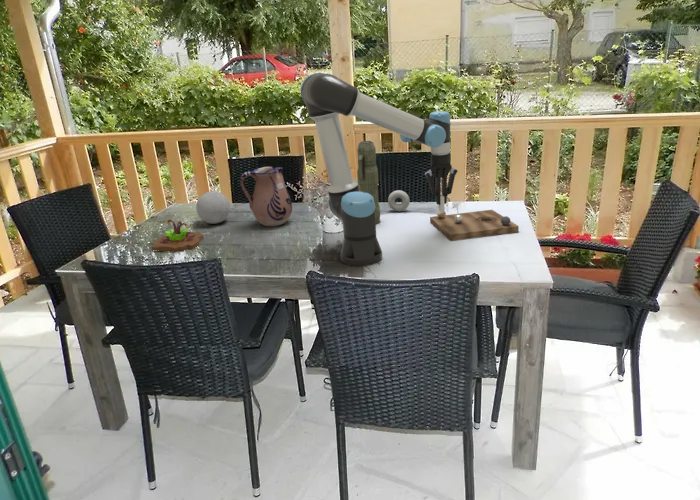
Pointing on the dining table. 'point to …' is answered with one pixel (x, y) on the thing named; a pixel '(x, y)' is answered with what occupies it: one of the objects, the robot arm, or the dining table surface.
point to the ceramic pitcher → (269, 196)
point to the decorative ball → (213, 207)
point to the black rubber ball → (505, 220)
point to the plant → (177, 239)
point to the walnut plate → (473, 225)
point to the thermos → (368, 173)
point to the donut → (398, 194)
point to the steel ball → (458, 218)
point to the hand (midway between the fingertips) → (441, 211)
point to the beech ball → (441, 214)
